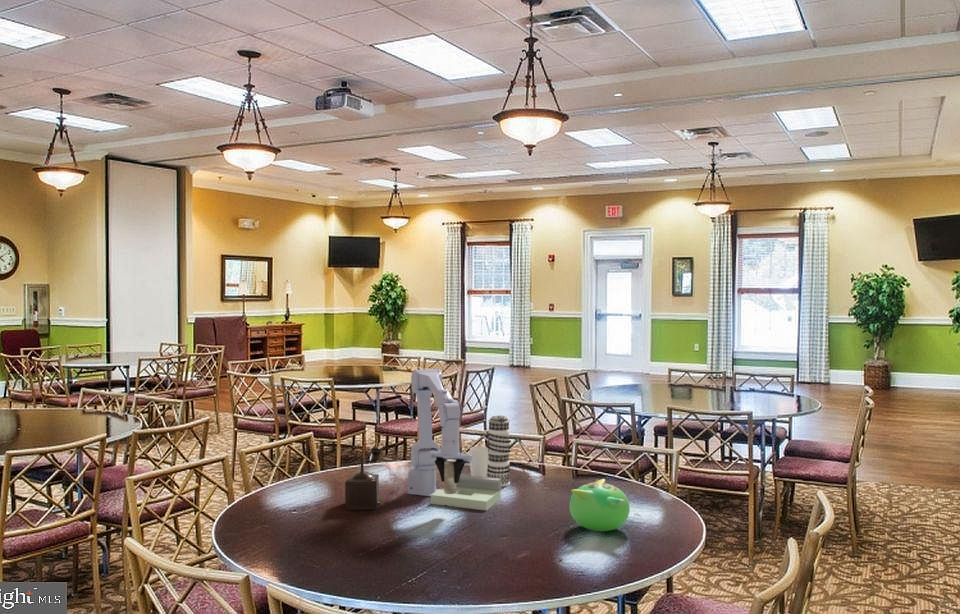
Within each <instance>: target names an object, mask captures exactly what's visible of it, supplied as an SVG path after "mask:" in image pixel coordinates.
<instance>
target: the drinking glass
mask: <svg viewBox="0 0 960 614" xmlns="http://www.w3.org/2000/svg"><path fill="white" fill-rule="evenodd" d="M488 449H489V448H487V446H481V445H477V446H476V445H475V446H471V447H470V448H469V454H470V455H472V461H471V462H469V469H470V476H480V477H488V476H487V474H488V460H489V453H488Z"/></svg>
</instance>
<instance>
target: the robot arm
mask: <svg viewBox="0 0 960 614" xmlns="http://www.w3.org/2000/svg"><path fill="white" fill-rule="evenodd" d="M411 390H412V391H411V392H412V393H413V394H415V395H416V407H417V408H416V409H417V410H416V411H417V427H418V428H417V429H418V430H417V431H418V440H417V441H416V442H415V443H414V444H413V445H411V449H410V451H411V452H410V464H411V467H410V469H409V471H408V475H407V480H408V481H407V493H406V494H408V495H413V496H414V495H417V496H424V497H431V495H432V494H433V493H435V492H436V491H438V490H439V489H440V488H437V470H438V472H439V475H440V480H441V482H443V483H444V461H446V460H455V462H453V465H454V471H455V479H454V480H455V483H458V482H459V479H460V475H462V471H463V469H464V466H465V465H466V462H468V463H470V462H471V461H472V455H470V453H464V452H460V421H461V420H462V418H463V413H464V412H463V406H462V404H461V402H460V401H457V400H454V398H453V396H452V395H451V393H450V391H449V390H447V389H446V388H444V386H443V372H442V370H441V369H440V368H433V369H432V368H431V369H413V371H412V373H411ZM432 394H433V401H434V404H435V405H436V407H437V408H438V415H439V416H438V417H439V424H440V426H441V449H440V444H438V443H437V442H436V441H435V440H434V439H433V427H432V426H433V424H432V423H433V422H432V403H431V396H432Z"/></svg>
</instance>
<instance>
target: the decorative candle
mask: <svg viewBox="0 0 960 614" xmlns="http://www.w3.org/2000/svg"><path fill="white" fill-rule="evenodd" d="M487 429H488V430H487V431H486V439H487V441H486V443H487V444H486V447H487V448H488V454H489V457H488V470H487V477H489V478H499V479H501V488H502V487H507V486H509V485H511V482H510V481H511V479H510V477H511V474H510V471H511V469H510V467H511V465H510V459H509V458H510V453H511V451H512V450H511V447H512V446H511V445H510V443H512V441H511V440H510V439H511V438H512V436H511V435H510V420H509V419H508V417H507V416H505V415H493V416H491V417H490V419H489V420H488V428H487Z"/></svg>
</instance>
